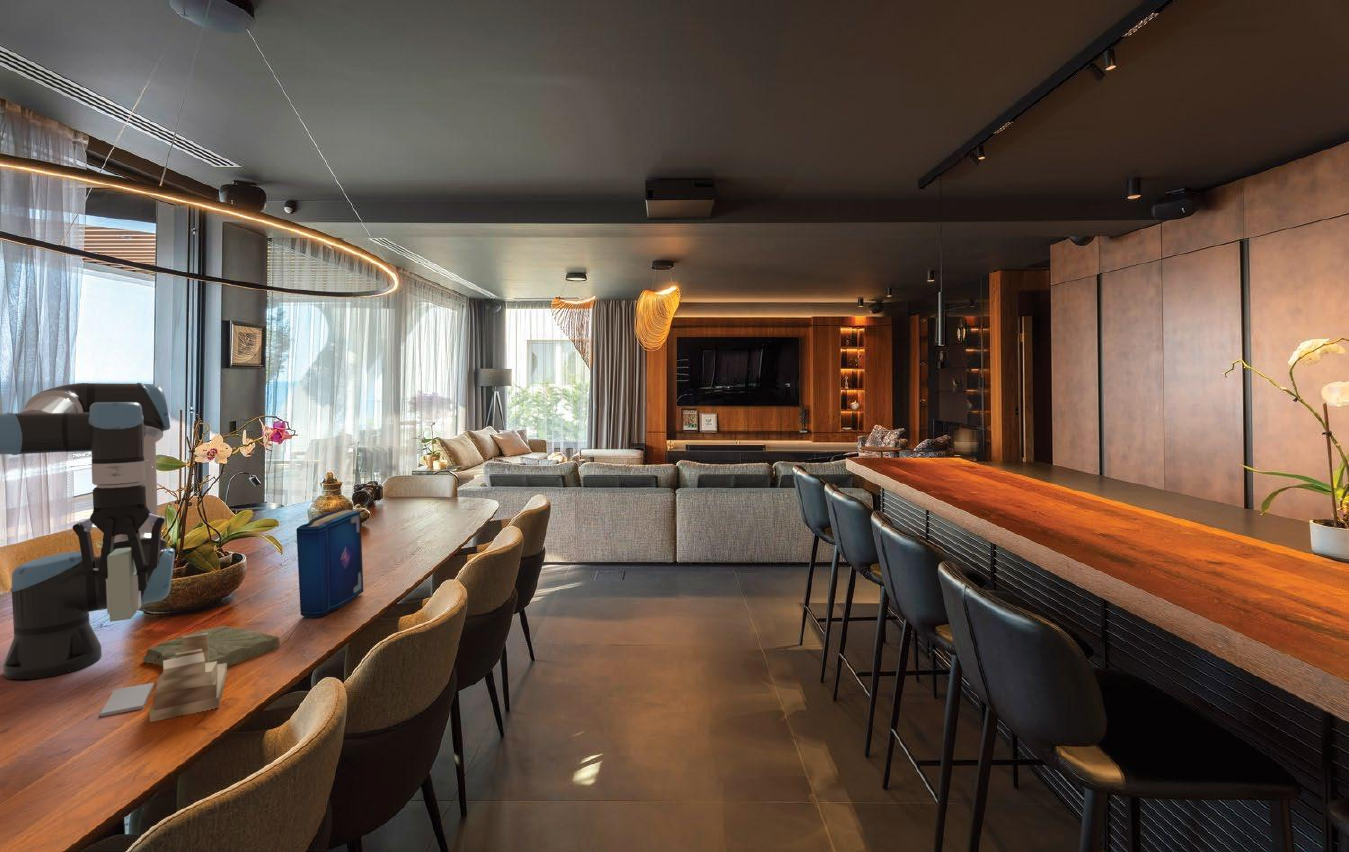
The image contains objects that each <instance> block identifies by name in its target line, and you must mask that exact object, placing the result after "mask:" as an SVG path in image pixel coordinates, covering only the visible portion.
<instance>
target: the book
mask: <svg viewBox="0 0 1349 852" xmlns="http://www.w3.org/2000/svg"><path fill="white" fill-rule="evenodd" d="M361 521H362V520H361V510H360V509H356V510H351V509H345V510H341V509H337V510H333V511H329V512H326V513H323V514H321V515H319V516H317V517H314V518H312V519H310V520H309V521H308V522H307V523H304V524H301V525H300V526H298V527H297V528H296V549H297V567H298V568H297V569H298V590H299V607H300V609H299V610H300V615H301V616H302V617H307V618H321V617H324V616H326V615H327V614H328V613H330V612H334V611H333V610H335V611H337V610H338V609H340V608H342V607H344V606H345V605H347V604H349V603H350V602H351V601H353V600H354V599H355V598H356V597H358V596H359V595H360V594H362V593H363V592H364V573H363V569H364V568H363V549H362V547H363V546H362V544H363V543H362V522H361ZM346 603H347V604H346ZM341 606H342V607H341ZM336 609H337V610H336Z"/></svg>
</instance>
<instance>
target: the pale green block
mask: <svg viewBox="0 0 1349 852" xmlns="http://www.w3.org/2000/svg"><path fill="white" fill-rule="evenodd" d="M107 565H108V588H109V612H110V614H109V623H112V622H118V621H125V620H132V619H133V617H134V616H135V615H136V613H137V612H138V610H133V587H132V575H133V574H134V573H136V572H137V571H136V567H135V563H134V558H133V554H132V550H131V547H130V548H119V549H115V550H114V551H113V552H112V553H110V554H109V555H108V556H107Z"/></svg>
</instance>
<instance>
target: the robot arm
mask: <svg viewBox="0 0 1349 852" xmlns="http://www.w3.org/2000/svg"><path fill="white" fill-rule="evenodd" d="M170 429H171V420H170V415H169V409H168V404H167V400H166V396H165V392H164V390H163V387H162V386H160V385H158V384H154V383H142V382H136V383H112V382H111V383H110V382H109V383H106V382H105V383H103V382H100V383H99V382H98V383H97V382H96V383H94V382H93V383H90V382H81V383H80V382H78V383H69V384H64V385H59V386H55V387H52V388H49V389H45V390H42V391H40V392H38V393H36V394H35V395H33V396H31V398H29V399H28V400H27V402H26V403H25V406H24V408H23V410H21V411H20V412H18V413H16V412H14V413H13V412H6V413H0V455H13V456H18V455H28V454H31V455H33V454H49V453H74V452H75V453H76V452H77V453H78V452H81V453H82V452H91V483H92V485H94V486H96V487H94V488H93V489H92V508H93V511H92V513H91V514H90V516H89V518H88V519H86V520H84V521H83V520H82V521H79V522H77V523H75V524H73V526H72V530H73V532H74V533H75V534H76V535H77V538H78V542H79V549H80V550H77V551H67V552H62V553H56V554H55V553H54V554H50V555H47V556H43V557H40V558H36V559H33V560H29V561H27V562H24V563H22V564H20V565H18V566H16V568H15V569H14V570H13V571H12V573H11V585H10V586H11V587H10V589H9V590H10V592H11V600H12V601H11V602H12V605H11V606H12V618H13V619H12V620H13V624H12V625H13V626H12V627H13V639H12V641H11V644H10V647H9V649H8V652H7V654H6V657H5V660H4V662H3V667H2V668H3V669H2V670H3V677H4V678H5V677H6V678H5V679H7V680H11V679H30V680H37V679H36V678H38V679H42V678H43V677H45V678H49V676H50V677H54V676H53V675H55V676H59V675H62V673H63V674H66V673H65V672H67V673H70V672H69V671H71V672H73V671H76V670H80V669H82V668H85V667H87V666H89V665H92V664H94V663H95V662H97V661H99V660H100V659H101V657H102V654H103V653H102V645H101V642H100V640H99V639H98V637H97V635H96V633H95V631H94V628H93V627H92V625H91V622H90V612H94V611H95V612H96V611H103V610H104V611H105V610H106V611H107V612H106V613H107V615H108V614H109V615H110V612H109V588H108V565H107V556H108V555H109V554H110V553H112V552H113V551H114V550H115V549H119V548H130V547H131V550H132V554H133V558H134V563H135V567H136V571H137V572H136V573H134V574H133V575H132V587H133V610H137V611H139V610H140V609H141V607H142V606H143V605H146V604H147V603H152V602H154V603H155V602H158V601H163V600H165V599H166V598H167V597H168V596H169V594H170V592H171V588H172V580H173V575H174V568H175V567H174V564H175V557H176V556H175V554H176V553H175V552H176V549H175V548H171V547H168V542H167V540H166V539H165V538H162V528H163V526H164V524H165V523H166V521H167V517H166V516H165V515H158V514H159V512H158V485H157V484H158V483H157V481H158V480H157V477H158V475H157V446H156V444H157V442H158V441H160V440H162V438H163V437H164V432H165V431H168V430H170ZM147 460H148V461H147ZM151 465H152V466H153V467H154V468H152V466H151ZM151 490H153V491H151ZM93 525H94V526H95V527H96V528H97V529H98V530H100V532H101V533H103V537H102V546H101V548H100V555H98V556H95V552H94V546H93V539H92V534H91V531H92V530H93ZM58 674H59V675H58ZM43 679H44V678H43Z"/></svg>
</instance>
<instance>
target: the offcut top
mask: <svg viewBox="0 0 1349 852" xmlns="http://www.w3.org/2000/svg"><path fill="white" fill-rule="evenodd" d="M162 668H163V670H162V672H164V681H165V680H169V679H174V678H178V677H183V676H188V675H192V674H197V673H202V672H205V658H204V653H199V654H194V655H189V656H184V657H179V658H174V659H169V660H164V661H163V667H162Z"/></svg>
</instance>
